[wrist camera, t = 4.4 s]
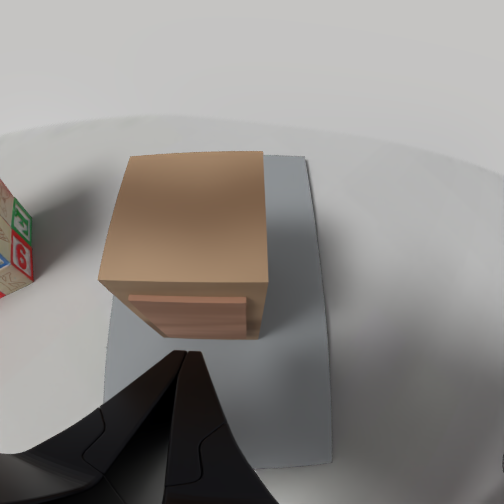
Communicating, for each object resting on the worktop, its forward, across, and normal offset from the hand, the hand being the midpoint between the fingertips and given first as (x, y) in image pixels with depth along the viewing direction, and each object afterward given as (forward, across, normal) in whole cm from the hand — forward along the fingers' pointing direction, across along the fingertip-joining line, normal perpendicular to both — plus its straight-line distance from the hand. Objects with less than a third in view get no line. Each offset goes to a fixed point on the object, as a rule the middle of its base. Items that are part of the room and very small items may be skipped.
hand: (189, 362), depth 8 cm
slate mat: (+9, 0, +2) cm, 9 cm away
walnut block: (+8, 0, +2) cm, 8 cm away
